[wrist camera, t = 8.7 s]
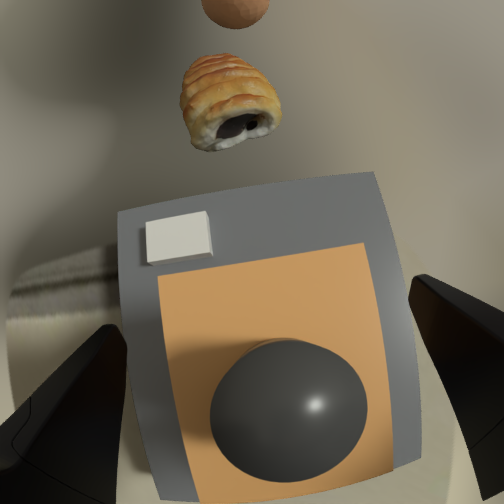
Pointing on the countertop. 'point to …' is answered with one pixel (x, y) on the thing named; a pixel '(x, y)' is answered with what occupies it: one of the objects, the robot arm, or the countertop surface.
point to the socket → (245, 250)
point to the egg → (235, 12)
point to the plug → (279, 375)
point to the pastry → (227, 102)
